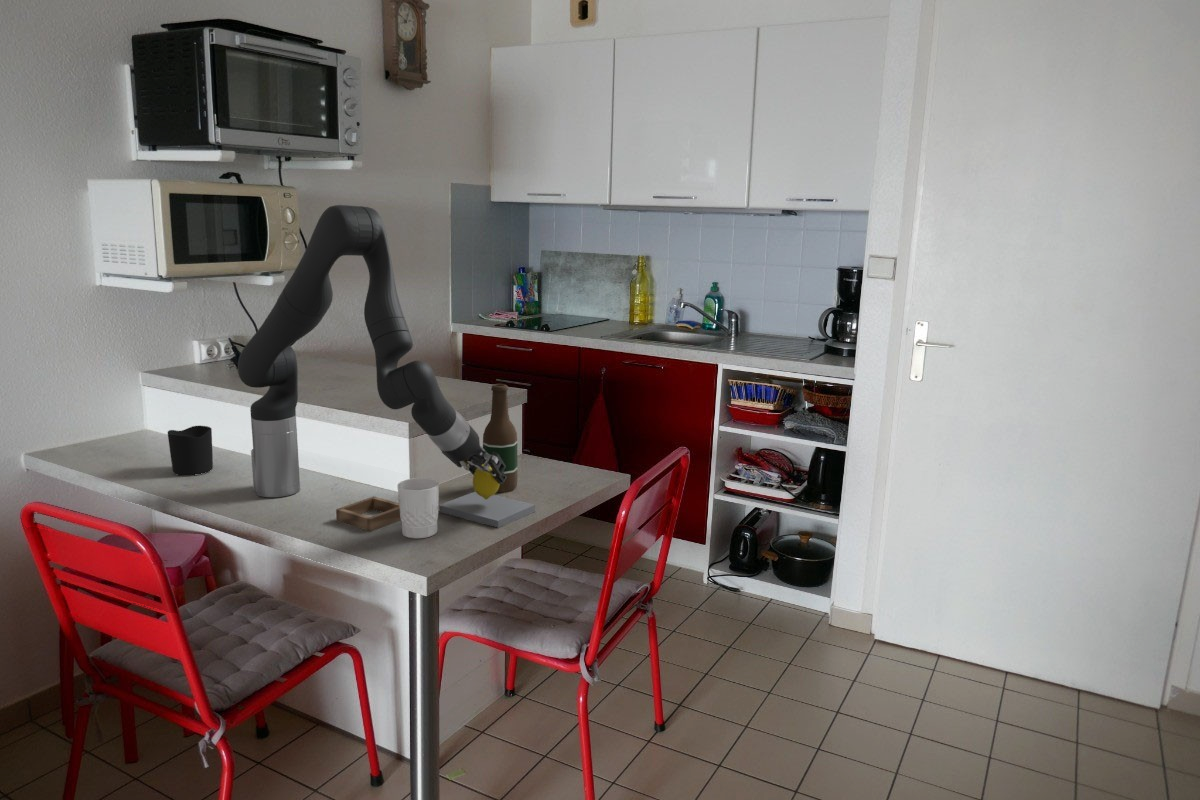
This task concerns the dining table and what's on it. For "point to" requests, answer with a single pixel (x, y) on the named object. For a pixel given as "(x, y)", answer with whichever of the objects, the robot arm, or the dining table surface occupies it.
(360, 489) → the dining table surface
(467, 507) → the gray board
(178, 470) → the pen holder
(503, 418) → the beer bottle
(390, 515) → the walnut collar
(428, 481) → the white cup
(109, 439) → the dining table surface
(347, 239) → the robot arm
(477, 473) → the lemon
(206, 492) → the dining table surface
